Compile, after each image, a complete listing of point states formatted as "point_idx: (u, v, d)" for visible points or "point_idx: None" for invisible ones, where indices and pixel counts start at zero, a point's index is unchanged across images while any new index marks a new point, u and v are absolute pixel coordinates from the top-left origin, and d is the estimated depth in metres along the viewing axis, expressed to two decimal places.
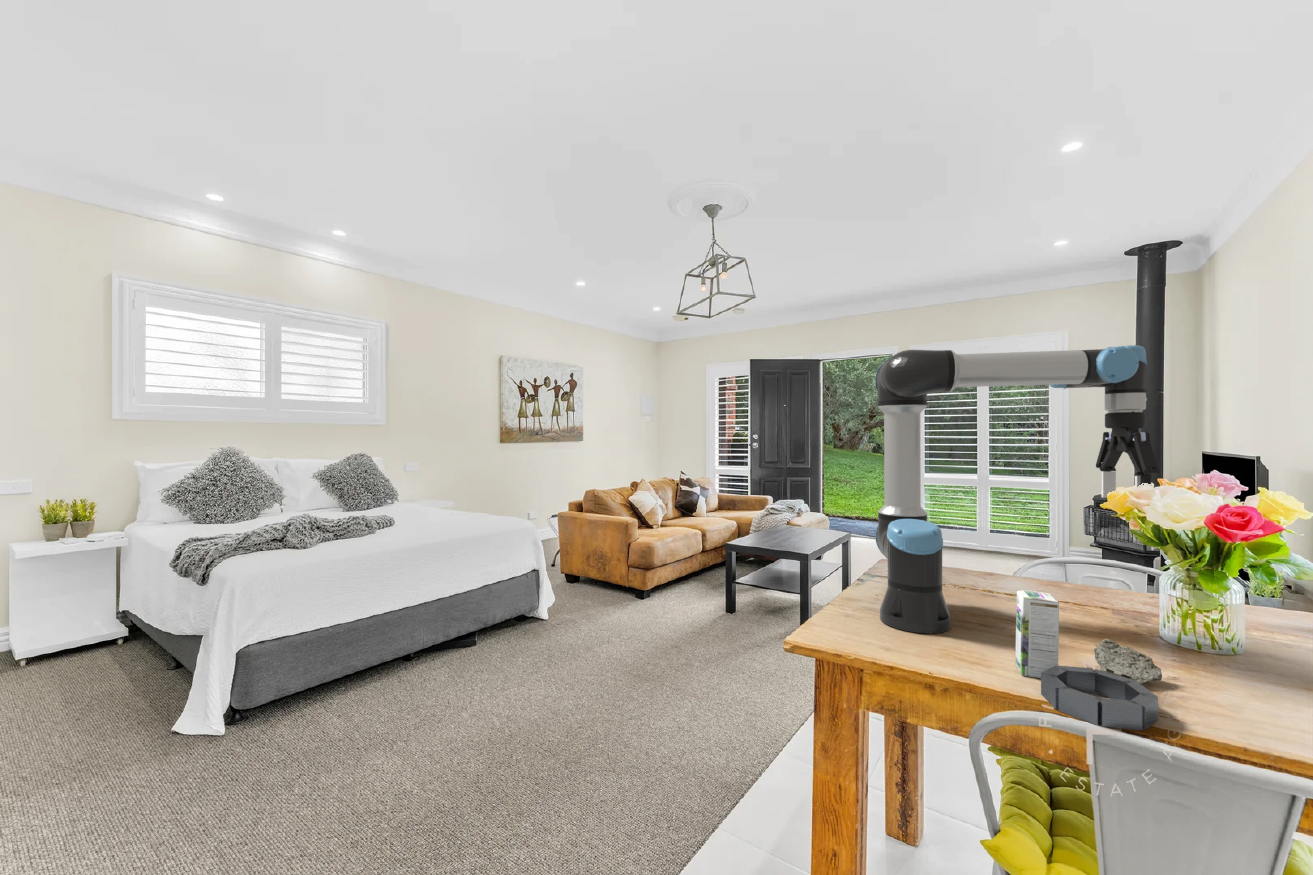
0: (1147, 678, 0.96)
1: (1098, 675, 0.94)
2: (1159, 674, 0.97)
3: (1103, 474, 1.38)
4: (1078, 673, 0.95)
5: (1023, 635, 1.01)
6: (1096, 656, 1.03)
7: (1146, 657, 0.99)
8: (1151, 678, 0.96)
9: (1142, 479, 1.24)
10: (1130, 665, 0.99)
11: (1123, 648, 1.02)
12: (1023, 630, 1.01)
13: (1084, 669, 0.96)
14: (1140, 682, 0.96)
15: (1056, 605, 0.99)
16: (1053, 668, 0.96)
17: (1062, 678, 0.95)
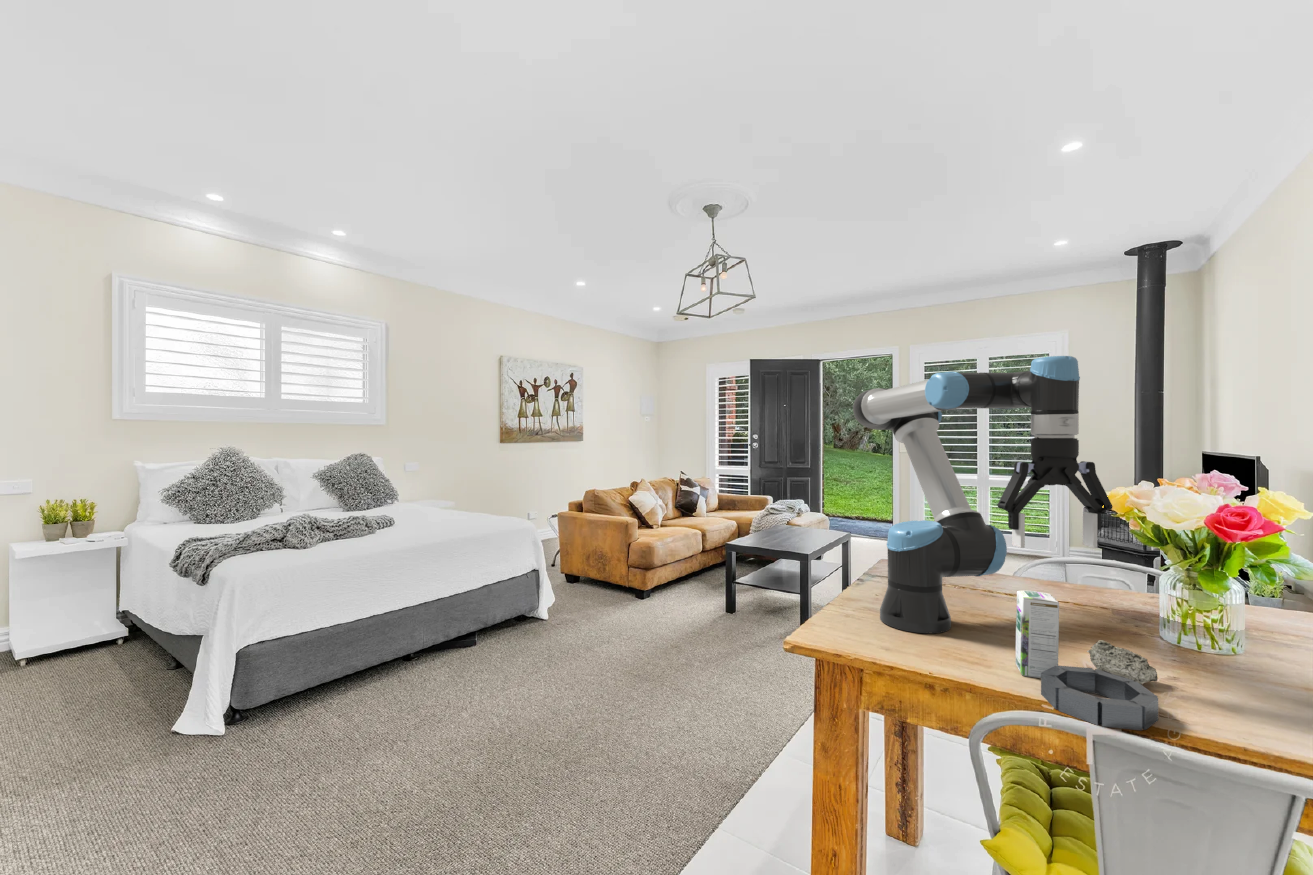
0: (1144, 679, 0.96)
1: (1098, 675, 0.94)
2: (1155, 675, 0.97)
3: None
4: (1078, 673, 0.95)
5: (1023, 635, 1.01)
6: (1092, 657, 1.03)
7: (1141, 658, 0.99)
8: (1148, 679, 0.96)
9: None
10: (1126, 666, 0.99)
11: (1118, 649, 1.01)
12: (1023, 630, 1.01)
13: (1084, 669, 0.96)
14: None
15: (1056, 605, 0.99)
16: (1053, 668, 0.96)
17: (1062, 678, 0.95)
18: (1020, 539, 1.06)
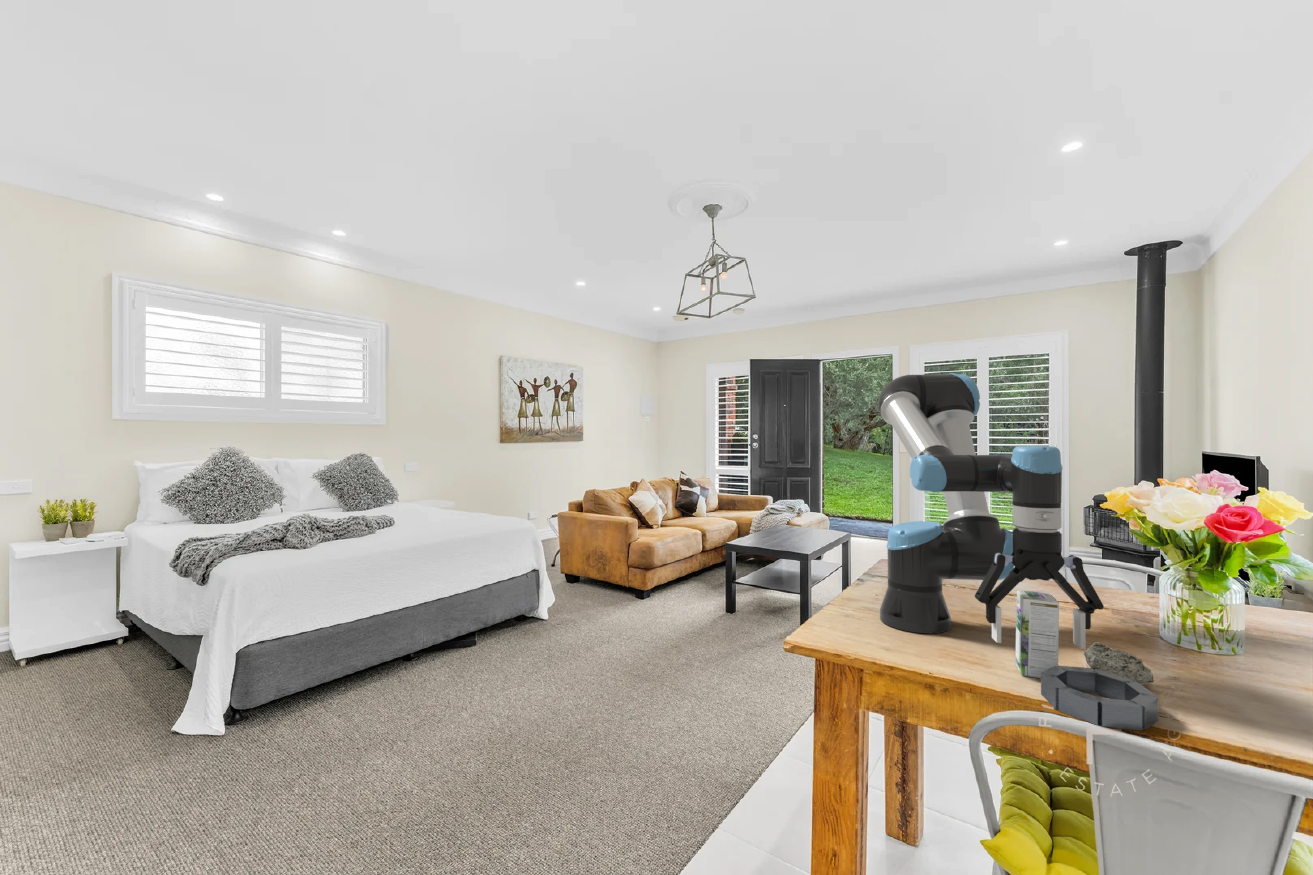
0: (1142, 681, 0.95)
1: (1098, 675, 0.94)
2: (1152, 676, 0.96)
3: None
4: (1078, 673, 0.95)
5: (1023, 635, 1.01)
6: (1088, 660, 1.02)
7: (1137, 659, 0.99)
8: (1146, 681, 0.95)
9: None
10: (1123, 668, 0.98)
11: (1114, 651, 1.01)
12: (1023, 630, 1.01)
13: (1084, 669, 0.96)
14: None
15: (1056, 605, 0.99)
16: (1053, 668, 0.96)
17: (1062, 678, 0.95)
18: (996, 634, 1.03)
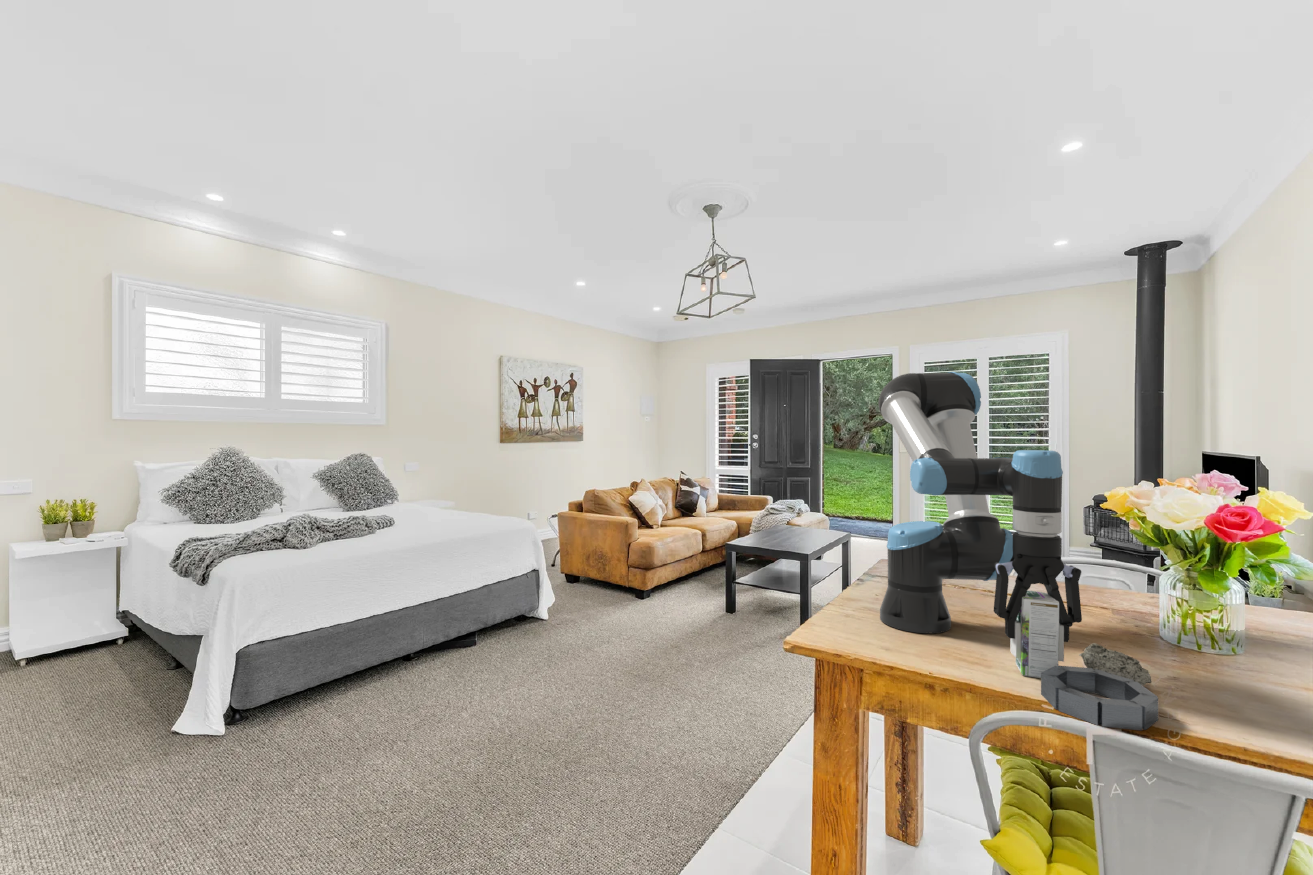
0: (1141, 682, 0.95)
1: (1098, 675, 0.94)
2: (1149, 677, 0.96)
3: None
4: (1078, 673, 0.95)
5: (1023, 635, 1.01)
6: (1085, 661, 1.01)
7: (1134, 660, 0.98)
8: (1144, 682, 0.95)
9: None
10: (1121, 669, 0.98)
11: (1111, 652, 1.00)
12: (1023, 630, 1.01)
13: (1084, 669, 0.96)
14: None
15: (1056, 605, 0.99)
16: (1053, 668, 0.96)
17: (1062, 678, 0.95)
18: (1015, 649, 1.02)
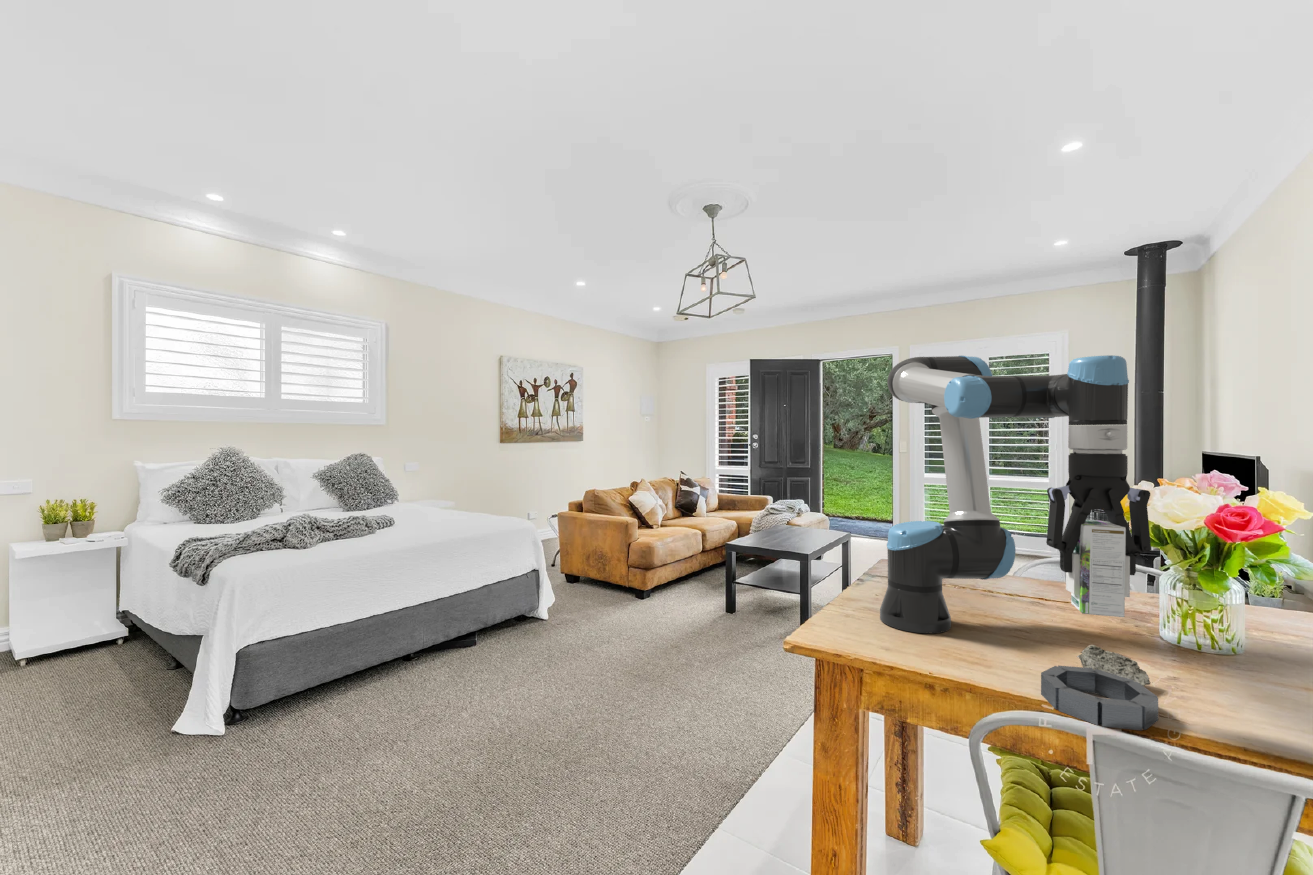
0: None
1: (1098, 675, 0.94)
2: (1148, 678, 0.95)
3: None
4: (1078, 673, 0.95)
5: (1083, 567, 0.88)
6: (1084, 663, 1.00)
7: (1132, 661, 0.98)
8: (1143, 684, 0.94)
9: None
10: (1119, 671, 0.97)
11: (1109, 653, 0.99)
12: (1083, 561, 0.88)
13: (1084, 669, 0.96)
14: None
15: (1122, 531, 0.86)
16: (1053, 668, 0.96)
17: (1062, 678, 0.95)
18: (1073, 584, 0.90)
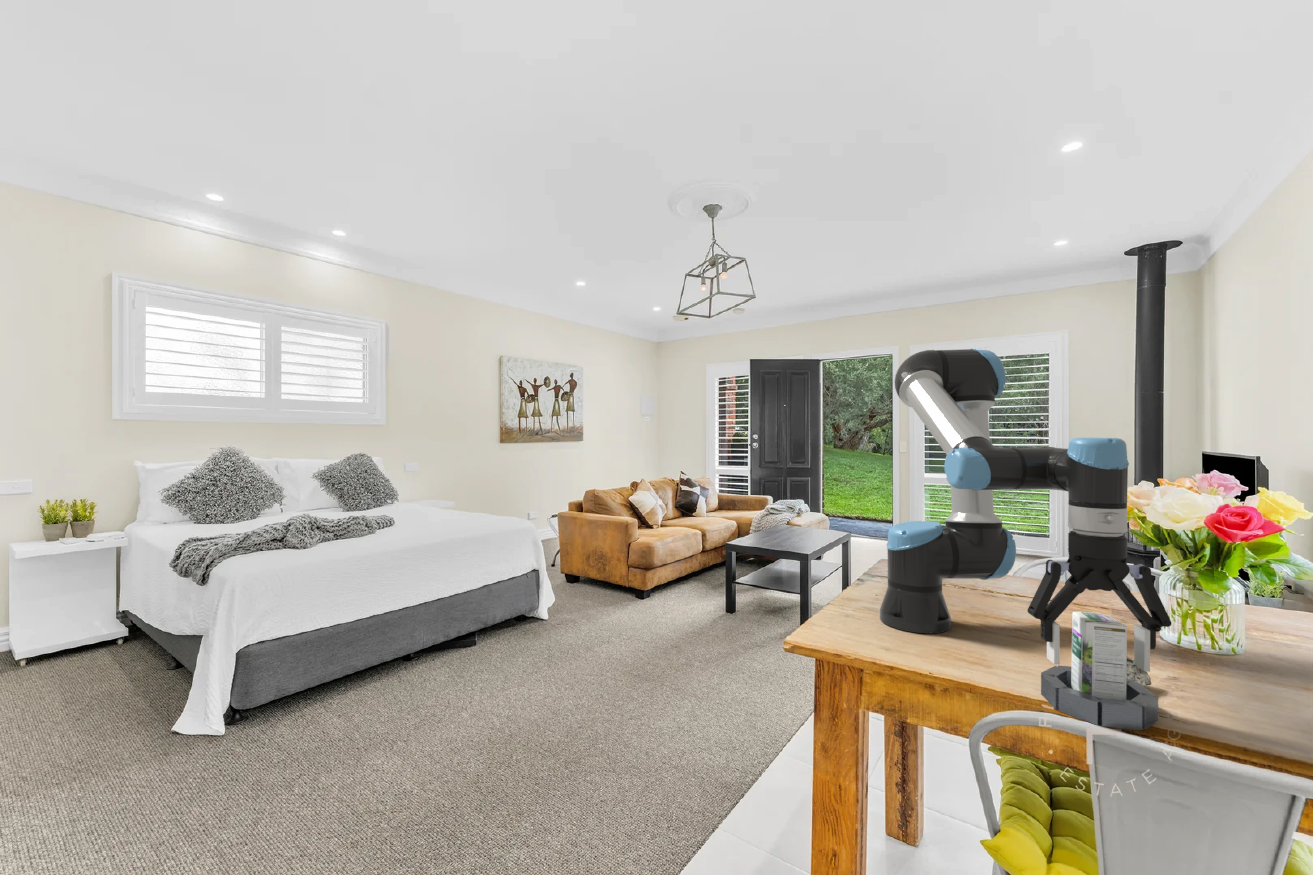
0: (1141, 684, 0.94)
1: None
2: (1149, 679, 0.95)
3: None
4: None
5: (1086, 664, 0.88)
6: None
7: (1133, 661, 0.97)
8: (1144, 684, 0.94)
9: None
10: None
11: None
12: (1086, 658, 0.88)
13: None
14: None
15: (1124, 629, 0.87)
16: (1053, 668, 0.96)
17: (1062, 678, 0.95)
18: (1053, 654, 0.91)
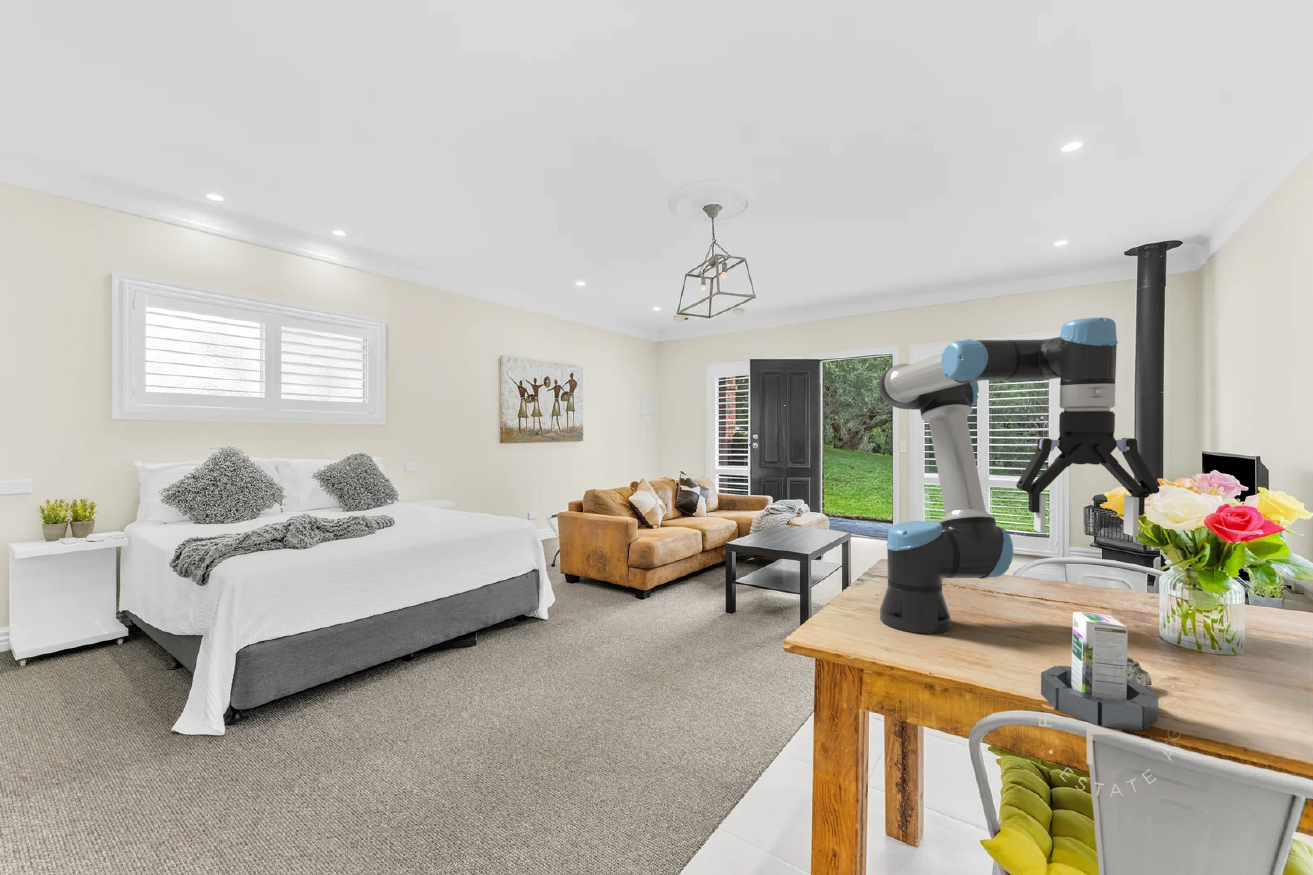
0: (1141, 684, 0.94)
1: None
2: (1150, 679, 0.95)
3: None
4: None
5: (1086, 665, 0.88)
6: None
7: (1134, 662, 0.97)
8: (1145, 684, 0.94)
9: None
10: None
11: None
12: (1086, 659, 0.88)
13: None
14: None
15: (1124, 630, 0.87)
16: (1053, 668, 0.96)
17: (1062, 678, 0.95)
18: (1040, 523, 0.96)
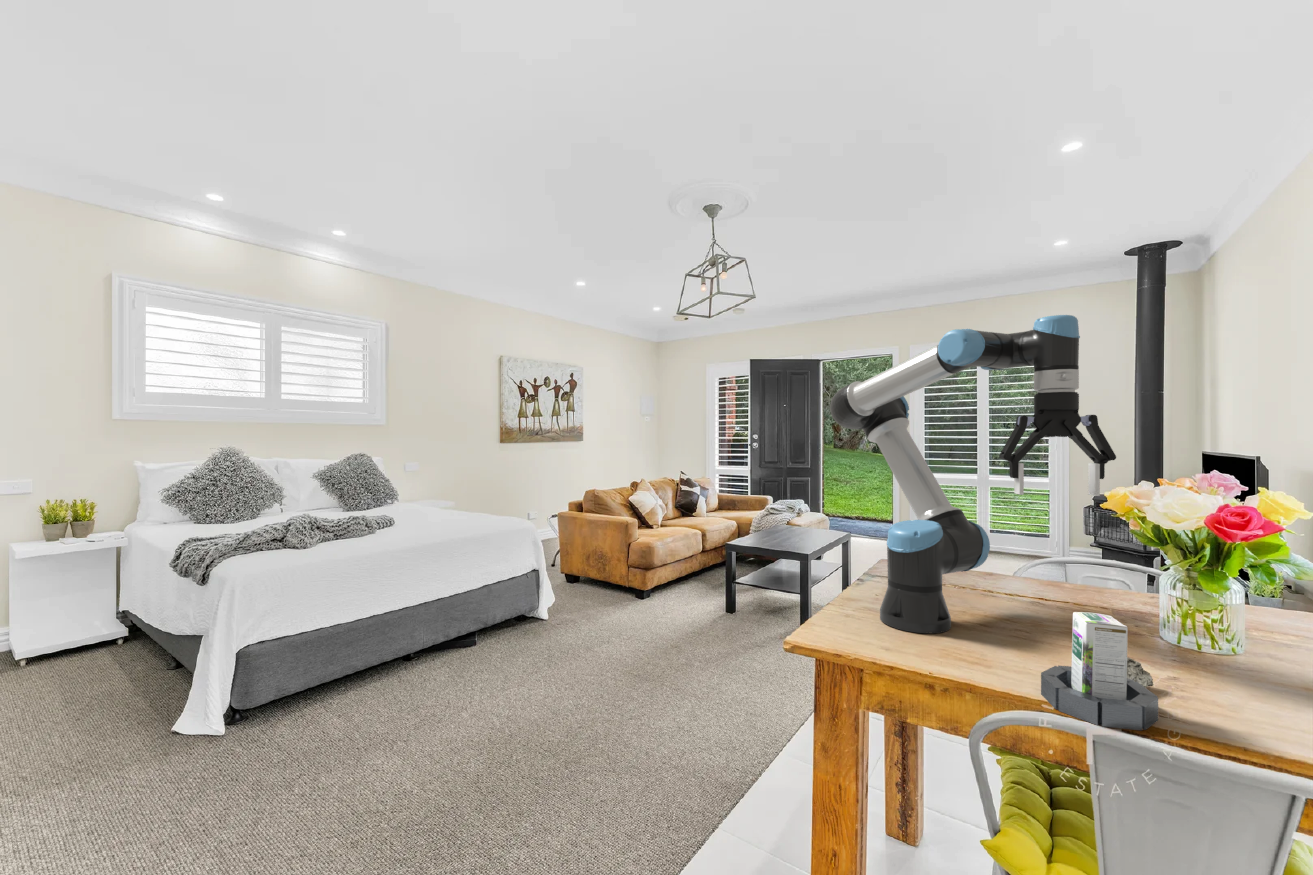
0: (1142, 685, 0.94)
1: None
2: (1151, 680, 0.95)
3: None
4: None
5: (1086, 665, 0.88)
6: None
7: (1135, 662, 0.97)
8: (1146, 685, 0.94)
9: None
10: None
11: None
12: (1086, 659, 0.88)
13: None
14: None
15: (1124, 630, 0.87)
16: (1053, 668, 0.96)
17: (1062, 678, 0.95)
18: (1019, 487, 1.15)
